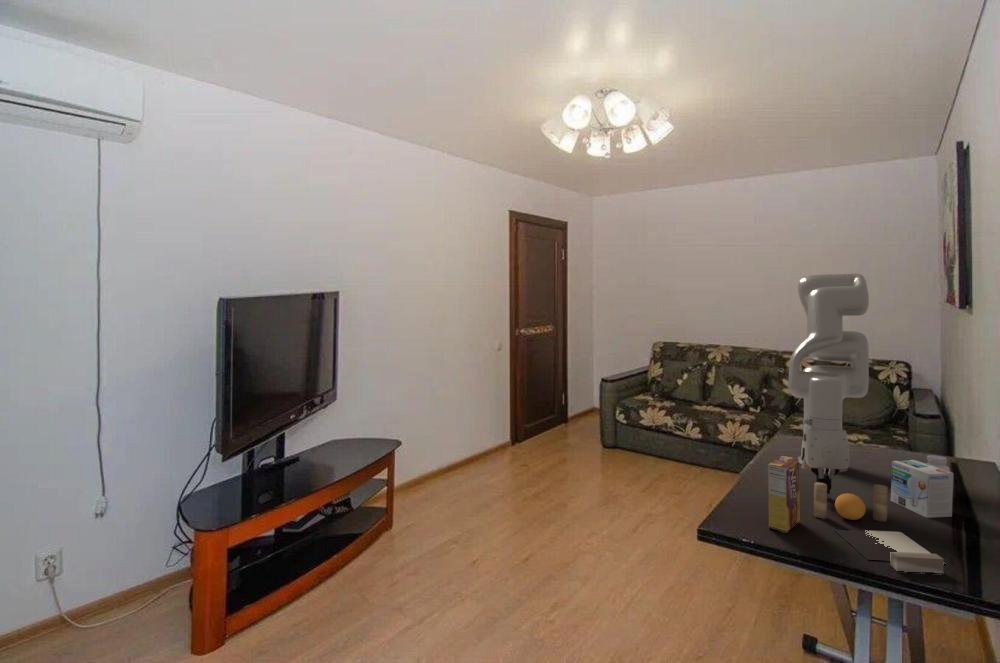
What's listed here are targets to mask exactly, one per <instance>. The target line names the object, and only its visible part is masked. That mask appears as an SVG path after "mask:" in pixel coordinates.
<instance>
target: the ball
mask: <svg viewBox="0 0 1000 663" xmlns="http://www.w3.org/2000/svg"><path fill="white" fill-rule="evenodd" d="M834 502H835V503H834V506H835V509H836V512H837V514H839V515H840V516H841V517H843V518H844V519H846V520H851V521H856V520H859V519H861V518H863V516H865V514H866V510H867V509H866V505H865V502H864V501H863V499H862V498H860V497H859V496H858V495H857V494H853V493H847V492H846V493H842V494H839V495H838V496H837V498H836V499H835V501H834Z"/></svg>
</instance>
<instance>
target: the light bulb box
mask: <svg viewBox="0 0 1000 663" xmlns="http://www.w3.org/2000/svg"><path fill="white" fill-rule="evenodd" d="M890 482H891V483H890V484H891V485H890V487H891V488H890V502H892V503H894V504H897V505H898V506H901V507H903V508H904V509H907V510H909V511H912V512H914V513H916V514H918V515H919V516H922V517H925V518H927V519H928V518H929V519H930V518H949V517H951V518H952V517H953V497H954V496H953V495H954V494H953V493H954V472H951V471H950V472H949V471H946V470H943V469H940V468H937V467H934V466H931V465H928V464H925V462H921V461H919V460H916V459H908V460H892V461H891V481H890Z"/></svg>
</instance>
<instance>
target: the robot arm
mask: <svg viewBox="0 0 1000 663" xmlns="http://www.w3.org/2000/svg"><path fill="white" fill-rule="evenodd" d="M797 293H798V297H799V300H800V303H801V305H802V307H803V309H804V311H805V315H806V321H807V322H806V324H807V325H806V338H805V339H804V340H803V341H802V342H801V343H799V345H798V346H797V347H796V348H795V349H794V351H793V352H792V354H791V357H790V359H789V364H788V379H787V380H788V391H789V393H790V394H791V396H793V397H795V398H798V399H803V419H802V424H803V436H802V442H801V450H800V451H801V452H800V453H801V454H800V455H799V456H798V457H797V459H799V465H800V467H801V469H803V470H805V471H808V472H812V473H813V474H814V475H815V477H816V478H815V480H816V482H819V483H824V484H826V485H827V495H830V494H831V490H832V480H834V478H835V476H836V475H837V474H839V473H842V472H847V471H848V468H849V467H850V460H851V459H850V446H849V440H848V435H847V430H845V429H843V402H844V400H845V398H853V399H859V398H864V397H865V396H866V395H867V394H868V392H869V383H870V382H869V380H870V378H869V373H870V372H869V365H870V363H869V362H870V360H869V357H870V356H869V353H870V351H869V342H868V338H867V335H866V334H864V333H863V332H860V331H852V330H849V331H848V330H847V331H846V330H843V317H844V316H850V317H851V316H853V317H854V316H857V317H858V316H863V315H865V314H866V313H867V311H868V309H869V304H870V297H869V291H868V285H867V280H866V278H865V277H864V276H863V274H861V273H838V274H837V273H834V274H833V273H830V274H827V273H826V274H813V275H807V276H804V277H802V278H801V279H799V281H798V283H797ZM807 356H808V358H810V359H812V360H813V361H820V362H840V363H842V362H843V363H848V364H849V365H850V366H843V365H828V364H827V365H825V364H822V365H821V364H815V365H814V364H813V365H809V366H806V367H805V368H803V370H800V368H801V363H802V361H803V360H804V359H805V358H806V357H807ZM816 482H815V483H816Z"/></svg>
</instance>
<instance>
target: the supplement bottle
mask: <svg viewBox="0 0 1000 663" xmlns="http://www.w3.org/2000/svg"><path fill="white" fill-rule="evenodd" d="M926 461H927V462H926V463H925V462H924V463H925V464H928V465H931V466H934V467H937V468H940V469H943V470H946V471H949V472H951V469H950V467H949V466H948V465H947V464H948V463H947V462H948V459H947V457H945V456H942V455H936V454H935V455H934V454H928V455H926Z"/></svg>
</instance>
